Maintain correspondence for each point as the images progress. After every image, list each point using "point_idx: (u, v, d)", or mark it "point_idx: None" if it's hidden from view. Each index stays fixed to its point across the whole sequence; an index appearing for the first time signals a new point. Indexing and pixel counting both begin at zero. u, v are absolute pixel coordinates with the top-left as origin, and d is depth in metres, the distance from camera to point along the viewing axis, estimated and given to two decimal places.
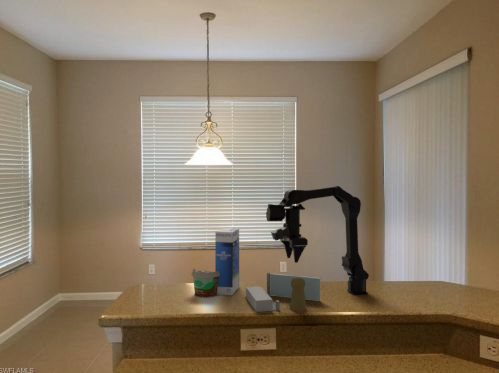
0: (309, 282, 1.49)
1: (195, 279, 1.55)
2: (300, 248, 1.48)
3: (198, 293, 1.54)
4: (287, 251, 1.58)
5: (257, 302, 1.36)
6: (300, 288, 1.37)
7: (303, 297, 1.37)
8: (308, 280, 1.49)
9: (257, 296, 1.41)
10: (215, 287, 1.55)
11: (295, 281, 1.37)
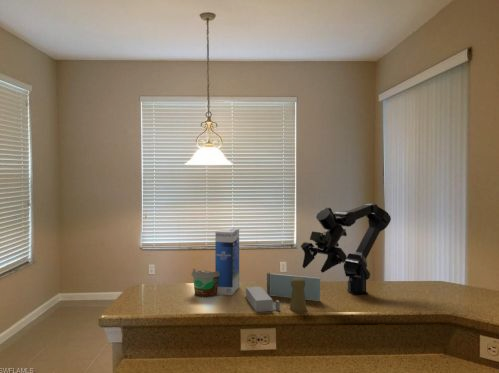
0: (309, 282, 1.49)
1: (195, 279, 1.55)
2: (333, 262, 1.41)
3: (198, 293, 1.54)
4: (306, 261, 1.48)
5: (257, 302, 1.36)
6: (300, 288, 1.37)
7: (303, 297, 1.37)
8: (308, 280, 1.49)
9: (257, 296, 1.41)
10: (215, 287, 1.55)
11: (295, 281, 1.37)
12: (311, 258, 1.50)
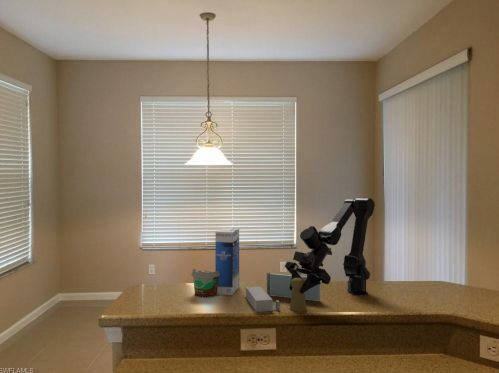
0: None
1: (195, 279, 1.55)
2: (313, 282, 1.37)
3: (198, 293, 1.54)
4: None
5: (257, 302, 1.36)
6: (300, 288, 1.37)
7: (303, 297, 1.37)
8: None
9: (257, 296, 1.41)
10: (215, 287, 1.55)
11: (295, 281, 1.37)
12: None
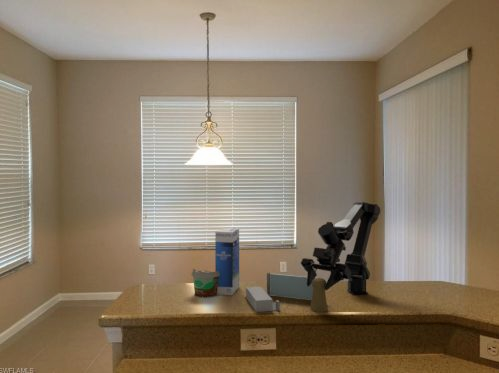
0: None
1: (195, 279, 1.55)
2: (336, 278, 1.37)
3: (198, 293, 1.54)
4: (310, 278, 1.41)
5: (257, 302, 1.36)
6: (322, 288, 1.36)
7: (325, 297, 1.37)
8: None
9: (257, 296, 1.41)
10: (215, 287, 1.55)
11: (317, 281, 1.36)
12: (314, 275, 1.43)
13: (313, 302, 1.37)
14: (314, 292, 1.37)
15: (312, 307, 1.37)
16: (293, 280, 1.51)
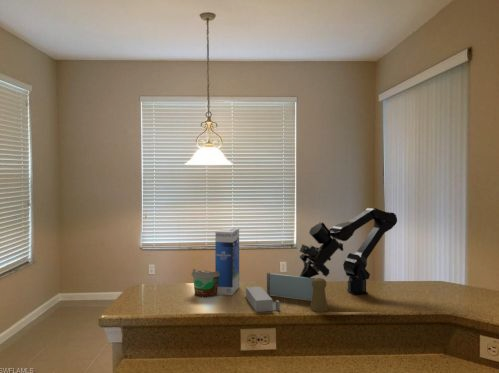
0: (308, 283, 1.48)
1: (195, 279, 1.55)
2: (312, 272, 1.51)
3: (198, 293, 1.54)
4: None
5: (257, 302, 1.36)
6: (322, 288, 1.36)
7: (325, 297, 1.37)
8: (307, 280, 1.48)
9: (257, 296, 1.41)
10: (215, 287, 1.55)
11: (317, 281, 1.36)
12: None
13: (313, 302, 1.37)
14: (314, 292, 1.37)
15: (312, 307, 1.37)
16: (292, 280, 1.51)
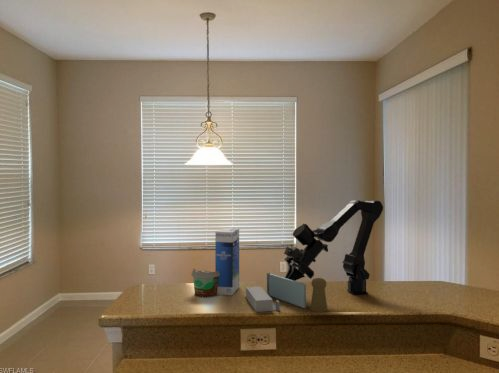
0: (296, 287, 1.42)
1: (195, 279, 1.55)
2: (298, 275, 1.48)
3: (198, 293, 1.54)
4: (287, 276, 1.51)
5: (257, 302, 1.36)
6: (322, 288, 1.36)
7: (325, 297, 1.37)
8: (295, 284, 1.42)
9: (257, 296, 1.41)
10: (215, 287, 1.55)
11: (317, 281, 1.36)
12: None
13: (313, 302, 1.37)
14: (314, 292, 1.37)
15: (312, 307, 1.37)
16: (284, 283, 1.47)
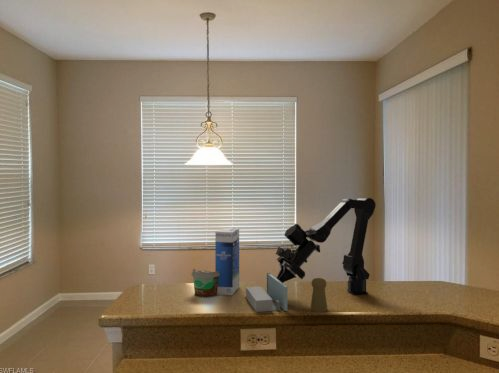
0: (281, 289, 1.39)
1: (195, 279, 1.55)
2: (289, 275, 1.48)
3: (198, 293, 1.54)
4: (279, 276, 1.50)
5: (257, 302, 1.36)
6: (322, 288, 1.36)
7: (325, 297, 1.37)
8: (280, 286, 1.40)
9: (257, 296, 1.41)
10: (215, 287, 1.55)
11: (317, 281, 1.36)
12: None
13: (313, 302, 1.37)
14: (314, 292, 1.37)
15: (312, 307, 1.37)
16: (275, 284, 1.46)
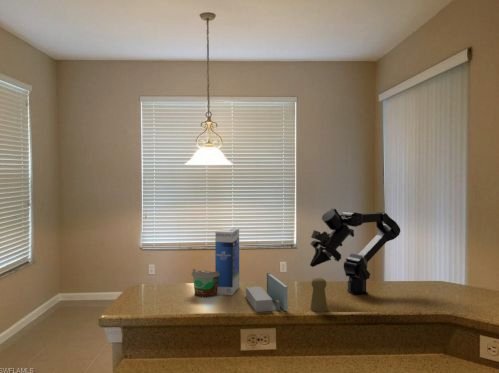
0: (281, 289, 1.39)
1: (195, 279, 1.55)
2: (324, 258, 1.51)
3: (198, 293, 1.54)
4: None
5: (257, 302, 1.36)
6: (322, 288, 1.36)
7: (325, 297, 1.37)
8: (280, 286, 1.40)
9: (257, 296, 1.41)
10: (215, 287, 1.55)
11: (317, 281, 1.36)
12: None
13: (313, 302, 1.37)
14: (314, 292, 1.37)
15: (312, 307, 1.37)
16: (275, 284, 1.46)
